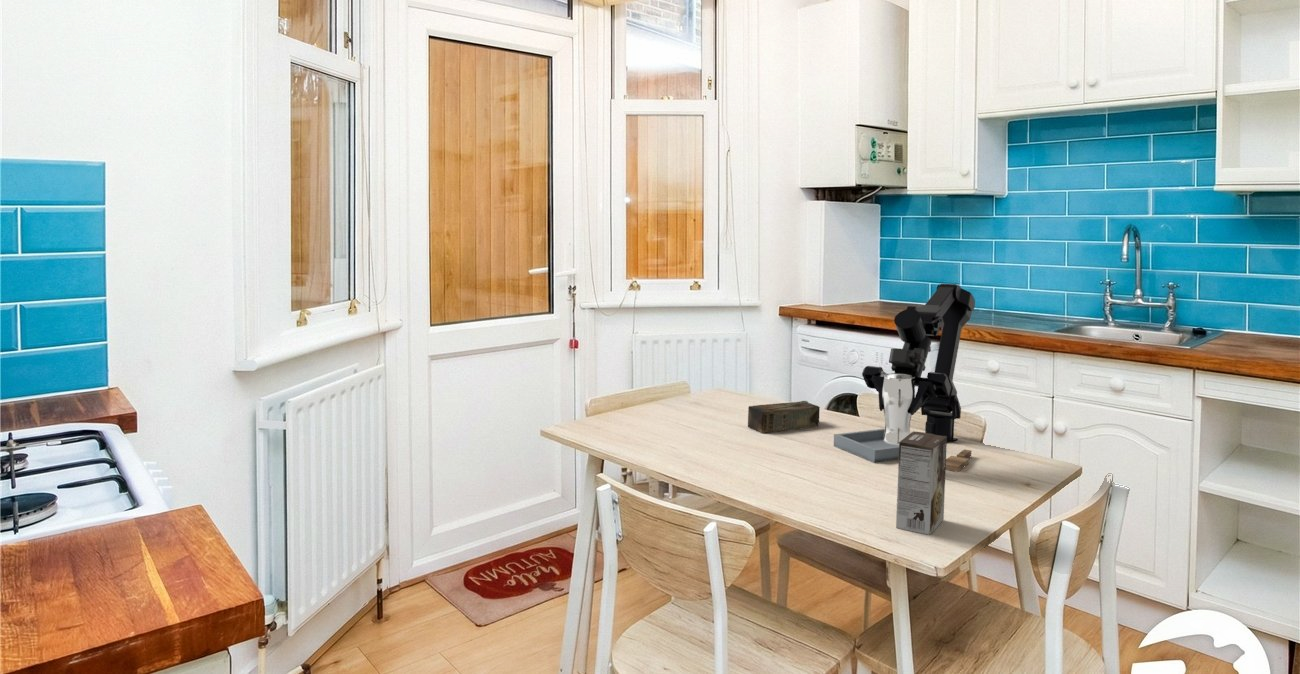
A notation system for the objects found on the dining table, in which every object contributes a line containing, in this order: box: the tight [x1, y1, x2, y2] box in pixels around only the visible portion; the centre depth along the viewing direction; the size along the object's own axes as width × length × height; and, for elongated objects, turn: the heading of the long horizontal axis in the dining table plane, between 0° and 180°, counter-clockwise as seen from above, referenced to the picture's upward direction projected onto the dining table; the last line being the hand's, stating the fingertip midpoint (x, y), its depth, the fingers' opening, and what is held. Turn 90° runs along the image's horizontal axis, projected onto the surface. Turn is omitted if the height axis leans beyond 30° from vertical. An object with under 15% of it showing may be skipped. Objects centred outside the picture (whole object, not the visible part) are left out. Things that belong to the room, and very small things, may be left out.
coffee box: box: [895, 430, 948, 536], centre depth 144 cm, size 9×6×16 cm
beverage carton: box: [747, 400, 821, 434], centre depth 217 cm, size 8×19×7 cm, turn 115°
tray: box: [833, 428, 899, 464], centre depth 193 cm, size 16×16×3 cm
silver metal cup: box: [882, 372, 916, 445], centre depth 177 cm, size 7×7×15 cm
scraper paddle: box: [946, 448, 972, 473], centre depth 183 cm, size 14×4×2 cm, turn 142°
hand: (895, 411), depth 176 cm, fingers closed on silver metal cup, 6 cm apart
